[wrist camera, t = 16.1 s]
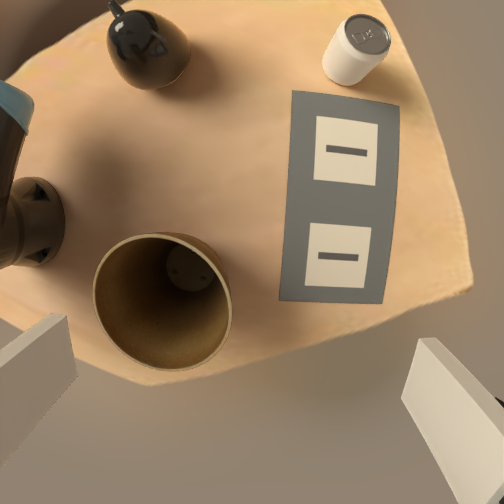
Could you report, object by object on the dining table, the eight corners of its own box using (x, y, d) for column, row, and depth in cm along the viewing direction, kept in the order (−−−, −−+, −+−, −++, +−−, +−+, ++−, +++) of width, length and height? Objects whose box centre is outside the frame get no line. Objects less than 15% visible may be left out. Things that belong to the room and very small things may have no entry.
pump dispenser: (175, 24, 38) (144, -28, 23) (208, 71, 40) (184, 24, 25) (120, 61, 39) (70, 24, 25) (148, 109, 41) (100, 81, 26)
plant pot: (130, 230, 45) (73, 253, 29) (227, 204, 44) (208, 216, 28) (159, 322, 48) (121, 378, 32) (252, 305, 47) (248, 362, 31)
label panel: (279, 300, 46) (279, 300, 46) (292, 90, 40) (292, 90, 40) (381, 303, 46) (382, 304, 46) (398, 106, 40) (399, 106, 40)
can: (372, 77, 39) (404, 49, 27) (336, 93, 40) (361, 65, 28) (348, 42, 38) (373, 5, 26) (312, 56, 39) (329, 19, 27)
